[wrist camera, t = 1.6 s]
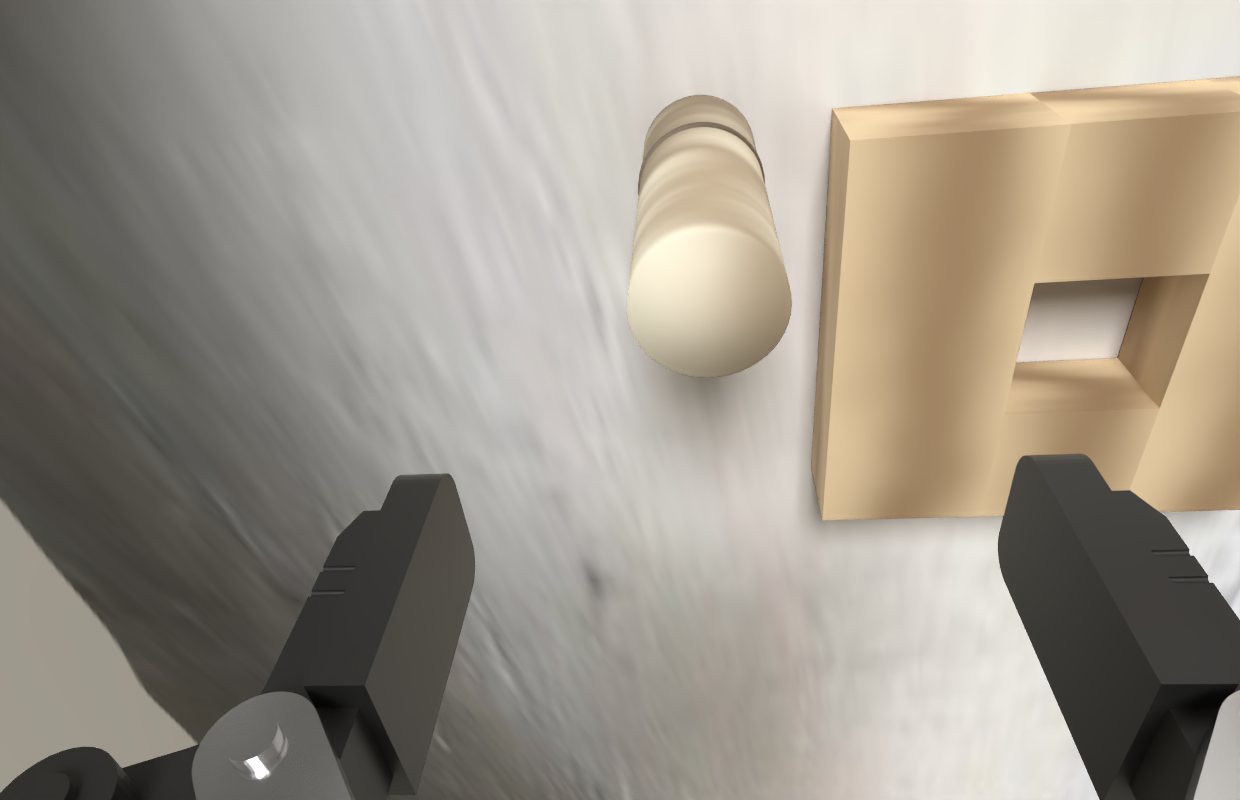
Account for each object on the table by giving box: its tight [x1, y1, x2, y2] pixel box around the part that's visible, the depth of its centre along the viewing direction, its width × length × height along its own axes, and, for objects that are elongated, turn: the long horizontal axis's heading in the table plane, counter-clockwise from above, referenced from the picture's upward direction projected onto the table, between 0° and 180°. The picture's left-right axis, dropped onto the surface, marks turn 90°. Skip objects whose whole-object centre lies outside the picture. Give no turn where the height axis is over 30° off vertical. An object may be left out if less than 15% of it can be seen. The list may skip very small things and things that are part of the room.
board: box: [811, 77, 1240, 520], centre depth 25 cm, size 16×14×3 cm
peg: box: [627, 95, 792, 377], centre depth 20 cm, size 4×4×10 cm
